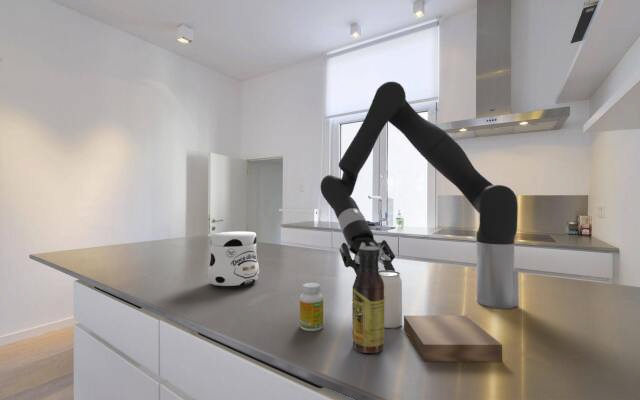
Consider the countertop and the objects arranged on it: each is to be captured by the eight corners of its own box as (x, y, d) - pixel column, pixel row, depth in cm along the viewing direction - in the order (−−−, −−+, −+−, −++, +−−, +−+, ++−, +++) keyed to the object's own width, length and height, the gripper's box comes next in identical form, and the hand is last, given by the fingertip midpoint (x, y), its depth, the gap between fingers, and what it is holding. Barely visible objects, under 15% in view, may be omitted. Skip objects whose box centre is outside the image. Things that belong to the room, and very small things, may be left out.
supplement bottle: (315, 333, 66) (314, 289, 66) (295, 328, 69) (295, 285, 69) (327, 325, 71) (327, 283, 71) (308, 320, 74) (308, 280, 74)
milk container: (252, 291, 98) (252, 236, 98) (199, 292, 98) (199, 236, 98) (263, 278, 115) (263, 231, 115) (218, 278, 115) (218, 231, 115)
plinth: (466, 328, 68) (466, 315, 68) (502, 361, 54) (502, 344, 54) (403, 328, 69) (403, 315, 69) (424, 361, 55) (423, 344, 55)
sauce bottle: (349, 341, 63) (349, 245, 63) (379, 339, 63) (378, 244, 63) (356, 357, 56) (355, 250, 56) (389, 355, 57) (388, 249, 57)
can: (403, 330, 68) (402, 276, 68) (373, 328, 69) (373, 275, 69) (401, 319, 74) (400, 270, 74) (374, 317, 75) (374, 269, 76)
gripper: (336, 219, 80) (359, 271, 70) (381, 218, 86) (408, 266, 76) (328, 237, 85) (348, 288, 75) (371, 235, 91) (395, 282, 80)
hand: (378, 277), depth 75 cm, fingers open, 8 cm apart
